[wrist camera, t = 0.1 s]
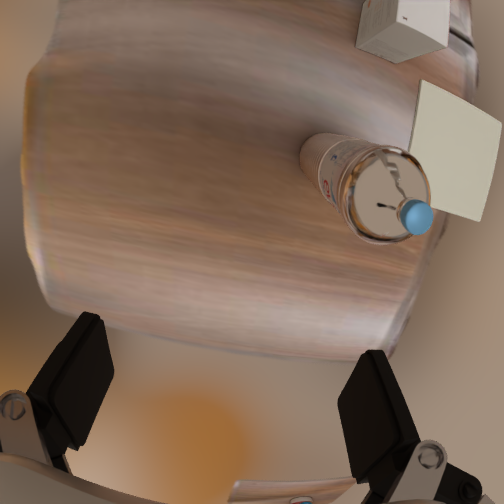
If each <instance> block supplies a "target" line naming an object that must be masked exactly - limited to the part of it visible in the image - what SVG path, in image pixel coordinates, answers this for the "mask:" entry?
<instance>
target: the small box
mask: <svg viewBox="0 0 504 504" xmlns="http://www.w3.org/2000/svg"><path fill="white" fill-rule="evenodd" d="M449 23H450V0H366V1H365V2H364V3H363V7H362V12H361V18H360V24H359V29H358V34H357V40H356V45H355V47H356V48H358V49H361V50H363V51H366V52H369V53H371V54H374V55H376V56H379V57H381V58H383V59H386V60H388V61H391V62H393V63H395V64H397V63H400V62H403V61H406V60H409V59H412V58H415V57H418V56H421V55H424V54H427V53H431V52H434V51H437V50H441V49H444V48H447V47H448V37H449Z"/></svg>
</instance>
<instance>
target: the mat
mask: <svg viewBox="0 0 504 504" xmlns="http://www.w3.org/2000/svg"><path fill="white" fill-rule="evenodd" d="M501 127H502V123H501V122H499V121H498V120H496V119H494V118H493V117H491V116H490V115H488V114H487V113H485V112H483V111H482V110H480V109H478V108H477V107H475V106H473V105H472V104H470V103H468V102H466V101H464V100H463V99H461V98H459V97H457V96H455V95H453V94H451V93H449V92H447V91H445V90H443V89H441V88H439V87H437V86H435V85H433V84H431V83H429V82H426V81H424V80H420V83H419V91H418V98H417V105H416V111H415V117H414V123H413V128H412V134H411V139H410V144H409V149H408V152H409V153H411V154H412V155H413V156H415V157H416V158H417V159H418V160H419V161H420V163H421V164H422V165H423V167H424V168H425V170H426V172H427V174H428V177H429V180H430V184H431V191H432V201H431V207H433V208H436V209H439V210H443V211H446V212H449V213H453V214H456V215H459V216H463V217H465V218H469V219H472V220H475V221H478V222H480V220H481V216H482V213H483V210H484V206H485V203H486V199H487V196H488V192H489V188H490V184H491V180H492V176H493V172H494V167H495V162H496V157H497V152H498V147H499V141H500V135H501Z"/></svg>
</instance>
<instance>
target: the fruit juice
mask: <svg viewBox="0 0 504 504" xmlns="http://www.w3.org/2000/svg"><path fill="white" fill-rule="evenodd" d="M290 504H312V498H311V497H298V498H294V499H292V500H291V502H290Z"/></svg>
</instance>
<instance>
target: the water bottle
mask: <svg viewBox="0 0 504 504" xmlns="http://www.w3.org/2000/svg"><path fill="white" fill-rule="evenodd" d="M299 162H300V166H301V169H302V171H303V173H304V174H305V176H306V177H307V178H308V179H309V180H310V181H311V182H312V184H313V185H314V186H315V187H316V188H317V189H318V191H319V192H320V193H321V194H322V195H323V197H324V198H325V199H326V200H327V201H328V202H329V203H330V204H331V205H333V206H334V207H335V209H336V210H337V211H338V212H339V213H340V215H341V217H342V219H343V220H344V222H345V223H346V225H347V226H348V227H349V229H350V230H351V231H352V232H353V233H354V234H355V235H356V236H358V237H359V238H361V239H362V240H364V241H366V242H368V243H371V244H374V245H381V246H387V245H394V244H397V243H400V242H403V241H405V240H407V239H409V238H410V237H412V236H413V235H420V234H423V233H425V232H426V231H427V230H428V229H429V228H430V226H431V224H432V221H433V212H432V210H431V201H432V191H431V184H430V180H429V177H428V174H427V172H426V170H425V168H424V167H423V165H422V164H421V163H420V161H419V160H418V159H417V158H416V157H415V156H413V155H412V154H411V153H409V152H407V151H406V150H404V149H401V148H398V147H395V146H390V145H379V144H375V143H371V142H368V141H365V140H363V139H359V138H354V137H349V136H344V135H338V134H333V133H319V134H315V135H313V136H311V137H310V138H308V139H307V140H306V141H305V142H304V144H303V145H302V147H301V150H300V154H299Z"/></svg>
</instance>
